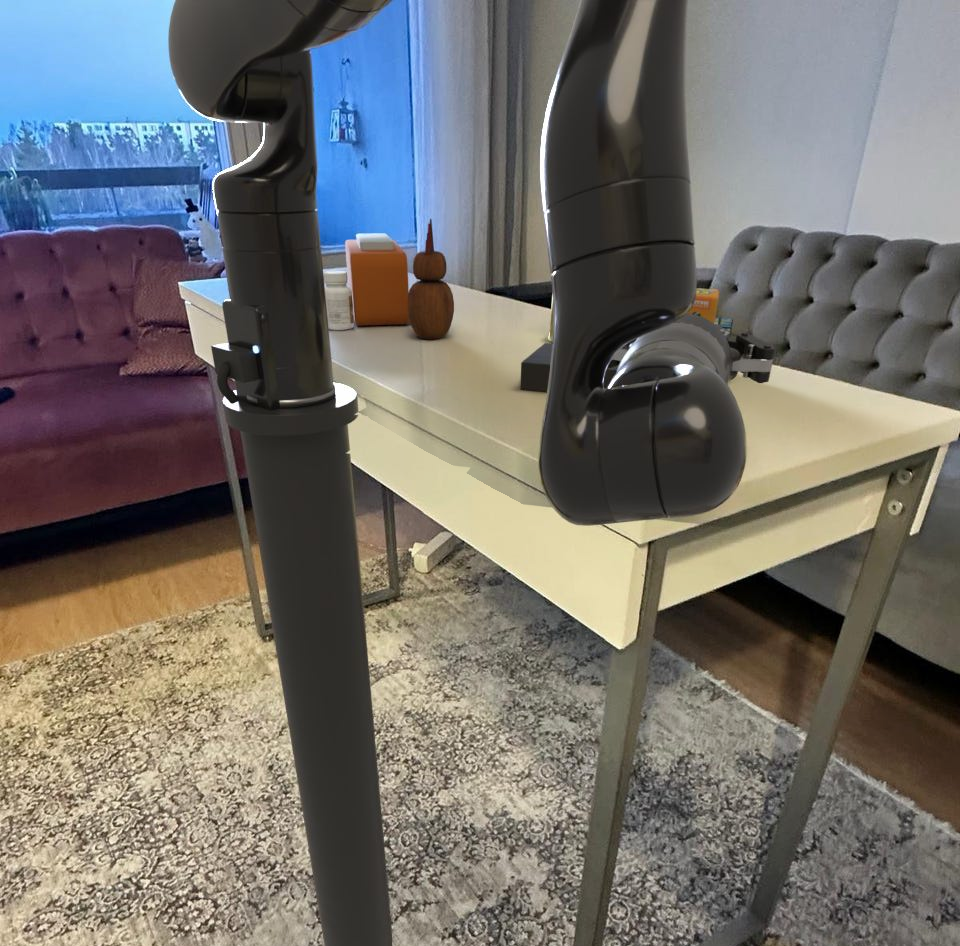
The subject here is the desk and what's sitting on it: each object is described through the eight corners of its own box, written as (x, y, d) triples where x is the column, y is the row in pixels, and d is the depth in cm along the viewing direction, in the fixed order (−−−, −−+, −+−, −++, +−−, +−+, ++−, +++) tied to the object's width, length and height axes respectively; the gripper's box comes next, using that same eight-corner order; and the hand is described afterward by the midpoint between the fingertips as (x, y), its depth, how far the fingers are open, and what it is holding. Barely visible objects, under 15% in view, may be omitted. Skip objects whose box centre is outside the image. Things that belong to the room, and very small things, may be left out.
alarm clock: (410, 326, 118) (406, 244, 112) (355, 328, 116) (349, 244, 110) (396, 301, 138) (392, 230, 131) (349, 302, 136) (344, 230, 130)
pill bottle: (359, 328, 116) (355, 272, 112) (333, 331, 114) (328, 274, 110) (346, 324, 119) (341, 269, 115) (320, 327, 117) (315, 271, 113)
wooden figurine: (426, 331, 115) (423, 217, 107) (460, 334, 113) (459, 219, 105) (402, 339, 110) (396, 220, 102) (436, 343, 108) (434, 222, 99)
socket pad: (616, 398, 84) (619, 370, 82) (520, 389, 87) (521, 362, 85) (631, 375, 93) (634, 349, 91) (543, 368, 96) (544, 342, 94)
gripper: (792, 331, 49) (788, 293, 63) (578, 315, 53) (618, 283, 67) (767, 444, 53) (768, 386, 67) (569, 423, 57) (609, 371, 71)
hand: (693, 335), depth 67 cm, fingers closed on supplement box, 3 cm apart
